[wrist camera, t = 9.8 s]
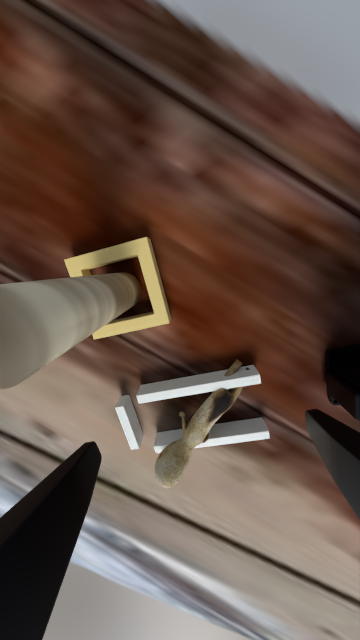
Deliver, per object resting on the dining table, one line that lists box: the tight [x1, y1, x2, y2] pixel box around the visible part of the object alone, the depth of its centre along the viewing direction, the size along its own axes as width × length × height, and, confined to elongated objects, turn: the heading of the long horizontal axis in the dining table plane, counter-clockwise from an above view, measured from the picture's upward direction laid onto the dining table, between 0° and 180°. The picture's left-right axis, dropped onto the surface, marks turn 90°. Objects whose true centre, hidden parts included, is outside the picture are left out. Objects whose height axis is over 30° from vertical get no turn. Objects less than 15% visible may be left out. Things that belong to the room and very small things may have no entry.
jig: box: [64, 237, 270, 453], centre depth 20 cm, size 16×23×2 cm
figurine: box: [155, 359, 250, 488], centre depth 21 cm, size 4×4×15 cm
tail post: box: [0, 272, 142, 389], centre depth 13 cm, size 4×4×14 cm
